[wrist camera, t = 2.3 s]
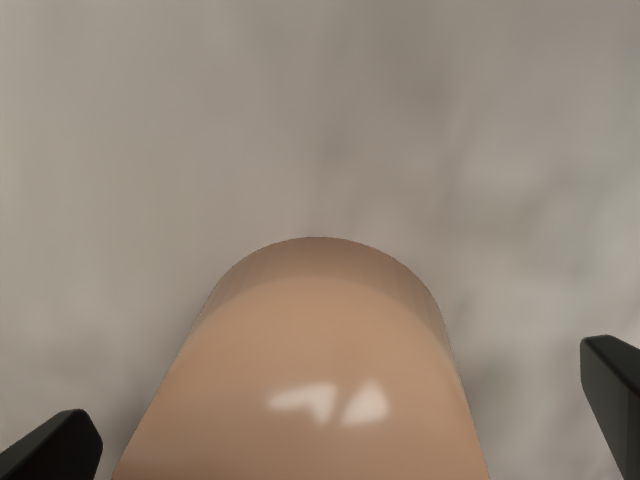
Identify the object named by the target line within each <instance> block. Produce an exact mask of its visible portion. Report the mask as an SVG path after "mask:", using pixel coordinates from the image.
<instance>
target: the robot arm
mask: <svg viewBox="0 0 640 480" xmlns="http://www.w3.org/2000/svg"><path fill="white" fill-rule="evenodd" d="M580 372H581V383H582V387H583V390H584V393H585V395H586V397H587V399H588V402H589V404H590V406H591V408H592V411H593V413H594V415H595V417H596V419H597V422H598V424H599V426H600V428H601V430H602V433H603V435H604V437H605V439H606V441H607V444H608V446H609V448H610V450H611V452H612V455H613V457H614V459H615V461H616V464H617V466H618V468H619V470H620V472H621V474H622V476H623V478H624V480H640V349H638V348H636V347H634V346H632V345H630V344H628V343H626V342H624V341H622V340H620V339H618V338H616V337H614V336H611V335H599V336H592V337H585V338H583V339H582V340H581V343H580ZM102 450H103V442H102V439H101V436H100V435H99V433H98V431H97V429H96V428H95V426H94V424H93V422H92V420H91V419H90V417H89V415H88V414H87V412H86V411H84V410H83V409H73V410H66V411H62V412H59V413H58V414H56V415H55V416H53V417H52V418H50V419H49V420H48V421H46V422H45V423H43V424H42V425H40V426H39V427H38V428H36V429H35V430H33V431H32V432H30V433H29V434H28V435H26V436H25V437H23V438H22V439H20V440H19V441H17V442H16V443H15V444H13V445H12V446H10V447H9V448H7V449H6V450H5V451H3V452H2V453H0V480H94V477H95V474H96V470H97V467H98V464H99V461H100V458H101V455H102Z"/></svg>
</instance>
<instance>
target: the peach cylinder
mask: <svg viewBox="0 0 640 480" xmlns="http://www.w3.org/2000/svg"><path fill="white" fill-rule="evenodd" d="M111 480H490V477H489V474H488V471H487V467H486V464H485V460H484V457H483V454H482V450H481V447H480V443H479V440H478V437H477V433H476V430H475V426H474V423H473V420H472V416H471V413H470V409H469V406H468V402H467V399H466V396H465V392H464V389H463V385H462V382H461V379H460V375H459V372H458V368H457V365H456V362H455V358H454V355H453V351H452V348H451V345H450V341H449V338H448V334H447V331H446V328H445V324H444V321H443V317H442V315H441V312H440V310H439V308H438V305H437V303H436V301H435V300H434V298H433V296H432V295H431V293H430V291H429V290H428V289H427V288H426V286H425V285H424V284H423V283H422V281H421V280H420V279H419V278H418V277H417V276H416V275H415V274H414V273H413V272H411V271H410V270H409V269H408V268H407V267H406V266H404V265H403V264H401V263H400V262H399V261H397V260H396V259H394V258H393V257H391V256H389V255H387V254H385V253H383V252H381V251H379V250H377V249H375V248H372V247H369V246H366V245H364V244H361V243H357V242H353V241H349V240H344V239H337V238H328V237H306V238H298V239H290V240H286V241H282V242H279V243H275V244H272V245H269V246H267V247H264V248H262V249H259V250H257V251H255V252H254V253H252V254H250V255H248V256H246V257H245V258H243V259H242V260H241V261H239V262H238V263H237V264H235V265H234V266H233V267H232V268H231V269H230V270H229V271H228V272H227V273H226V274H225V275H224V276H223V277H222V278H221V279H220V281H219V282H218V283H217V285H216V286H215V288H214V289H213V291H212V292H211V294H210V296H209V298H208V300H207V302H206V303H205V305H204V307H203V309H202V311H201V312H200V314H199V316H198V318H197V320H196V322H195V323H194V325H193V327H192V329H191V331H190V332H189V334H188V336H187V338H186V340H185V341H184V343H183V345H182V347H181V349H180V351H179V352H178V354H177V356H176V358H175V360H174V361H173V363H172V365H171V367H170V369H169V371H168V372H167V374H166V376H165V378H164V380H163V381H162V383H161V385H160V387H159V389H158V390H157V392H156V394H155V396H154V398H153V400H152V401H151V403H150V405H149V407H148V409H147V410H146V412H145V414H144V416H143V418H142V420H141V421H140V423H139V425H138V427H137V429H136V430H135V432H134V434H133V436H132V438H131V439H130V441H129V443H128V445H127V447H126V449H125V450H124V452H123V454H122V456H121V458H120V460H119V462H118V464H117V466H116V468H115V470H114V472H113V475H112V478H111Z"/></svg>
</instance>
